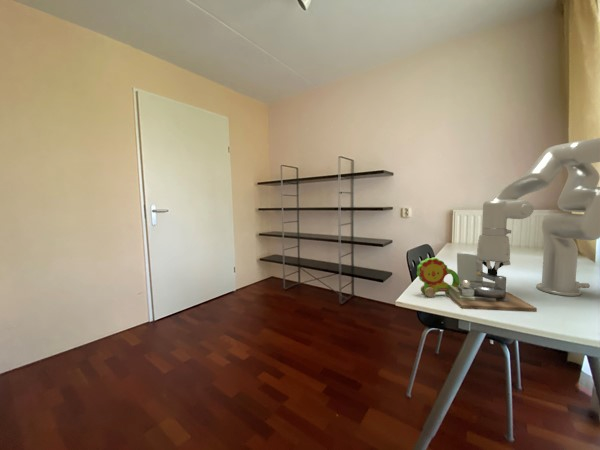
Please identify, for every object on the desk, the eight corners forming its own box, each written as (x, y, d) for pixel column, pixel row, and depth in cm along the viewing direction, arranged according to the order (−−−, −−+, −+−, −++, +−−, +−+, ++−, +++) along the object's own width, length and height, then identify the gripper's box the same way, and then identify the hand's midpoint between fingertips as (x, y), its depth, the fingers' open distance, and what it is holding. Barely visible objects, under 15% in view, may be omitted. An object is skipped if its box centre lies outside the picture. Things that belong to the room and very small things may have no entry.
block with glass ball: (468, 295, 97) (469, 278, 96) (473, 299, 93) (474, 281, 92) (457, 294, 97) (457, 278, 97) (462, 298, 94) (462, 281, 93)
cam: (508, 292, 97) (509, 273, 96) (502, 302, 88) (503, 281, 87) (470, 285, 106) (471, 268, 105) (462, 294, 96) (463, 275, 96)
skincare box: (483, 286, 110) (484, 253, 109) (476, 289, 107) (478, 254, 105) (462, 281, 117) (463, 250, 116) (455, 284, 114) (456, 251, 112)
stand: (507, 295, 99) (508, 283, 99) (536, 311, 85) (537, 298, 84) (444, 293, 103) (445, 282, 103) (461, 308, 89) (462, 295, 88)
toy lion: (453, 293, 103) (454, 256, 103) (461, 298, 98) (462, 259, 97) (414, 293, 104) (415, 256, 103) (420, 297, 99) (420, 258, 98)
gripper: (517, 232, 97) (515, 278, 98) (470, 230, 105) (469, 273, 107) (520, 234, 91) (518, 283, 92) (470, 232, 99) (469, 278, 101)
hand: (492, 278), depth 100 cm, fingers closed
